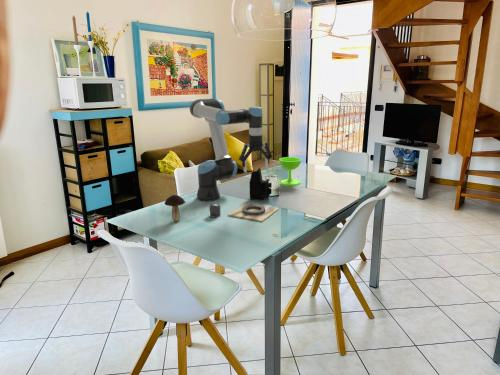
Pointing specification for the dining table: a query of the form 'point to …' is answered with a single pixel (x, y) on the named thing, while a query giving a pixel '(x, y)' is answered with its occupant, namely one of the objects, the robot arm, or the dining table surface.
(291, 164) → the wineglass
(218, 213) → the cap
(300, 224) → the dining table surface
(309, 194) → the dining table surface
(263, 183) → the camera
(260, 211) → the mount
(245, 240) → the dining table surface
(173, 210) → the decorative mushroom
